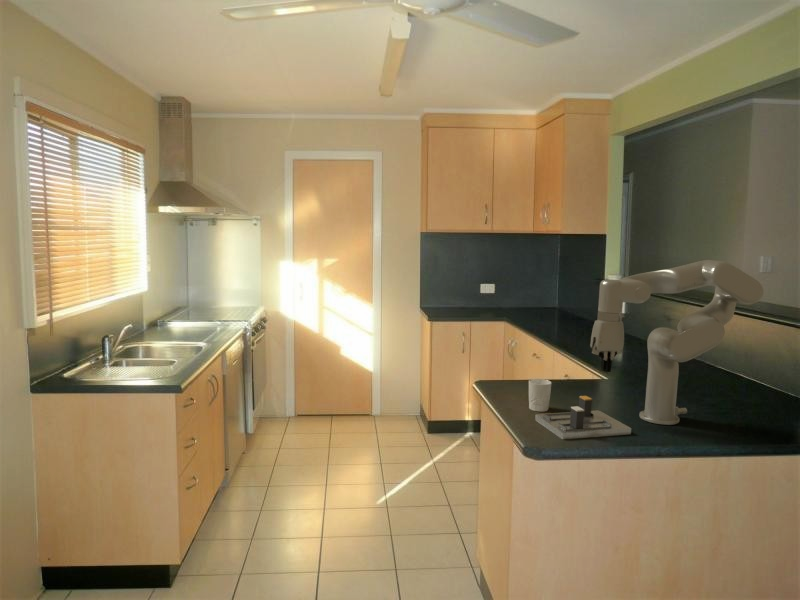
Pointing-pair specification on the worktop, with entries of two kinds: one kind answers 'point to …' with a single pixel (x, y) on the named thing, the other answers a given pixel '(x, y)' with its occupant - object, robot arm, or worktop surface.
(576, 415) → the fader
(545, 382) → the white cup
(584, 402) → the block
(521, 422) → the worktop surface
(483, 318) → the worktop surface
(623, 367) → the worktop surface
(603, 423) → the console
